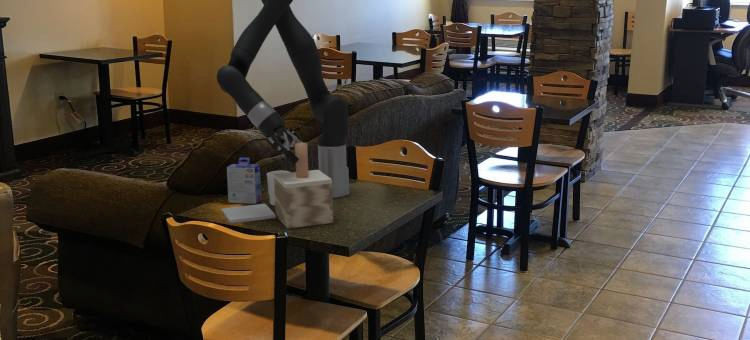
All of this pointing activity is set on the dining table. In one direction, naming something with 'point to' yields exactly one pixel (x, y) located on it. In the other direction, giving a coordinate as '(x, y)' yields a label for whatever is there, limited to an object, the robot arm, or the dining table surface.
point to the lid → (302, 172)
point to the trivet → (248, 213)
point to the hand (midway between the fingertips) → (302, 159)
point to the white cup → (272, 185)
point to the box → (304, 205)
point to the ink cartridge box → (244, 182)
